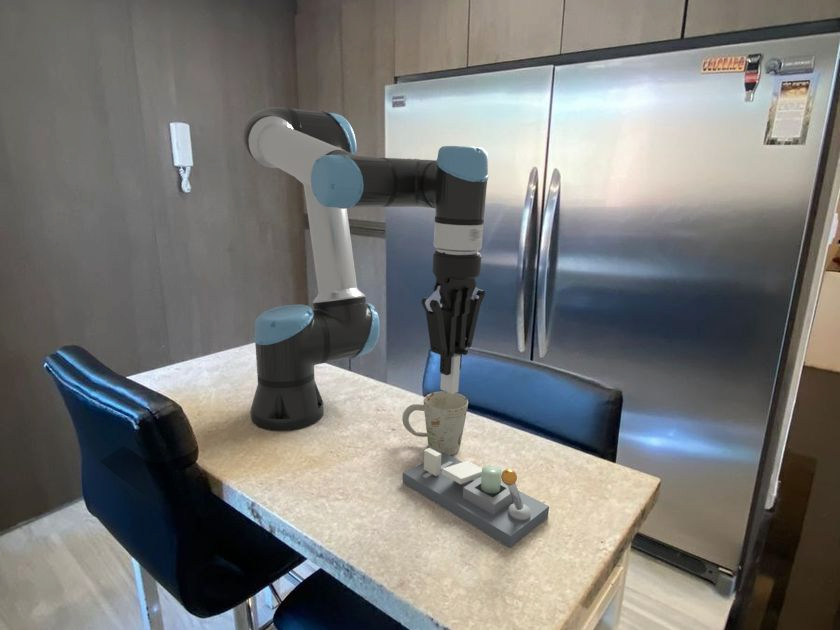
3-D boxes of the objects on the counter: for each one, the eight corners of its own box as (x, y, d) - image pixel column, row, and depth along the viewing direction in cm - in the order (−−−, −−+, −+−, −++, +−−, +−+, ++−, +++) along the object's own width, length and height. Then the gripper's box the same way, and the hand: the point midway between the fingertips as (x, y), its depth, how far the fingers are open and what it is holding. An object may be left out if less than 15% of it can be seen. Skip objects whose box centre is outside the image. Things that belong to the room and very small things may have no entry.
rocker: (441, 473, 83) (442, 468, 83) (466, 465, 88) (467, 460, 88) (460, 484, 81) (461, 478, 80) (485, 475, 85) (486, 470, 85)
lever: (508, 508, 77) (496, 475, 72) (517, 497, 78) (505, 463, 73) (521, 515, 75) (509, 481, 71) (529, 503, 76) (518, 469, 72)
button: (476, 487, 80) (478, 470, 80) (488, 480, 82) (489, 463, 82) (492, 496, 78) (493, 478, 78) (504, 488, 80) (505, 471, 80)
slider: (423, 469, 88) (424, 450, 87) (428, 466, 88) (429, 447, 88) (435, 476, 86) (436, 456, 85) (440, 473, 87) (441, 453, 86)
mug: (462, 462, 95) (465, 411, 92) (396, 453, 97) (396, 404, 95) (467, 440, 103) (470, 393, 100) (406, 433, 105) (407, 387, 103)
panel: (402, 483, 88) (403, 463, 87) (442, 461, 95) (443, 443, 94) (509, 548, 73) (511, 525, 72) (548, 517, 80) (550, 495, 79)
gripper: (447, 257, 74) (439, 409, 80) (502, 250, 82) (490, 387, 89) (410, 250, 79) (405, 393, 85) (466, 244, 88) (457, 374, 94)
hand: (449, 390), depth 87 cm, fingers closed
